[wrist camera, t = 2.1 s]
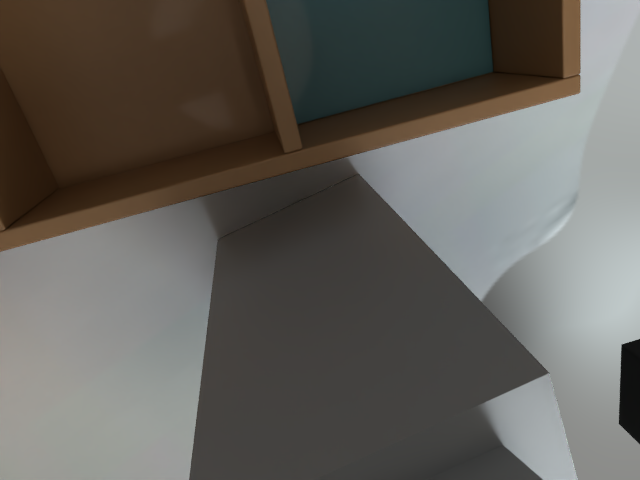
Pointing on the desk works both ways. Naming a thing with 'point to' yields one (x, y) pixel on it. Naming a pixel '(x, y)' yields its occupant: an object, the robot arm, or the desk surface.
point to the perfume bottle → (362, 359)
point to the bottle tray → (245, 92)
